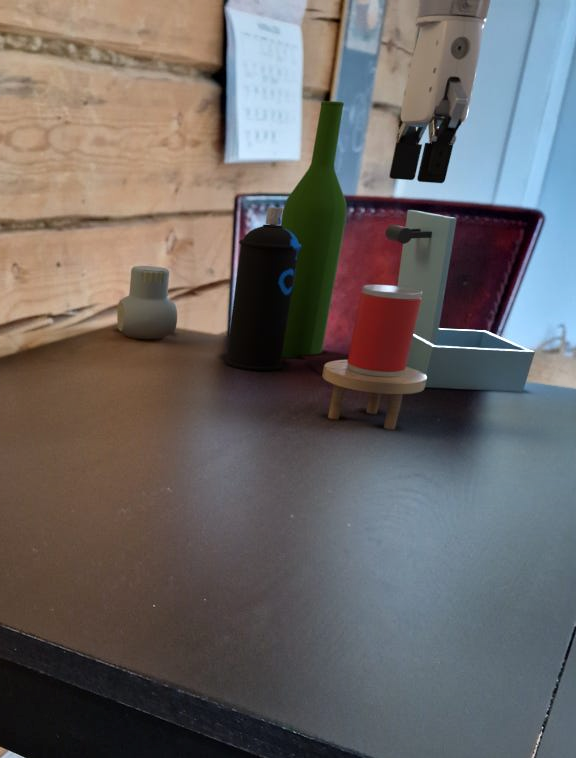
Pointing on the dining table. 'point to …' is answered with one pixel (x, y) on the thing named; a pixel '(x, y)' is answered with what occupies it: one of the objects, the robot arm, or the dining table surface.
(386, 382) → the stool
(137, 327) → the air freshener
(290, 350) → the wine bottle
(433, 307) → the lid
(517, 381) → the pale blue open box
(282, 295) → the aerosol can
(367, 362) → the drink can
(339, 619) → the dining table surface
